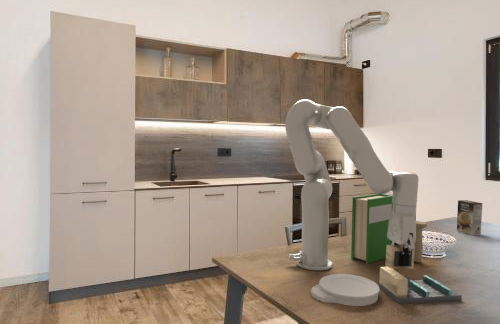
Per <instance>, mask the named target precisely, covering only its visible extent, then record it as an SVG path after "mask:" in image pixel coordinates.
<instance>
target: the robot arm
mask: <svg viewBox="0 0 500 324" xmlns="http://www.w3.org/2000/svg"><path fill="white" fill-rule="evenodd" d="M284 126H285V127H284V128H285V133H286V137H287V140H288V144H289V148H290V152H291V156H292V159H293V163H294V167H295V169H296V171H297V172H298V173H299V174H300V175H302V176H303V177H304V178H303V179H304V181H305V183H304V184H303V186H302V188H301V192H300V198H301V199H300V200H301V250H299V251H298V252H297V253H288V256H287V257H288V260H293V261H294V262H296V264H297V265H298V267H300V268H302V269H305V270H309V271H318V272H319V271H327V270H330V269H331V268H332V267H333V262H332V261H331V260H330V259H329V232H330V231H329V228H330V227H329V225H330V224H329V223H330V222H329V220H330V219H329V218H330V209H329V205H330V204H329V198H330V197H331V195H332V193H333V184H332V180H331V178H330V174H329V170H328V168H327V164H326V161H325V159H324V157H323V155H322V153H320V152H319V151H318V150H316V147H315V144H314V140H313V137H312V134H311V132H310V127H311V126H312V127H315V128H316V127H318V128H322V129H326V130H330V131H331V132H332V134H333V136H335V137H336V139H337V141H338V142H339V143H340V145H341V147H342V148H343V150H344V151H345V153H346V154H347V156H348V158H349V160H351V162H352V164H353V165H354V166H355V168H356V169H357V171H358V173H359V174H360V176H361V177H362V179H363V180H364V182H365V183H366V184H367V186H368V187H369V189H370V190H371V191H372V192H373V193H374V194H386V195H387V194H388V193H389V192H392V194H391V195H392V209H391V213H390V217H389V222H388V229H387V238H388V239H389V240H390V241H391V244H392V245H400V246H401V254H399V266H408V265H409V255H410V254H411V252H412V251H413V250H415V246H414V244H415V240H416V221H417V220H416V216H417V206H418V205H417V202H418V190H419V189H418V188H419V175H418V174H417V173H415V172H406V171H398V172H396V171H391V170H387V168H386V167H385V166H384V164H383V163H382V161H381V159H380V158H379V157H378V155H377V153H376V151H375V150H374V149H373V146H372V143H371V142H370V140H369V138H368V137H367V136H366V133H364V131H363V130H362V128H361V127H360V125H359V124H358V123H357V121H356V120H355V118H354V117H353V116H352V113H351V112H350V111H349V110H348V109H347V108H346V107H344V106H341V105H340V106H334V107H333V106H328V105H325V104H324V105H323V104H319V103H315V102H314V101H312V100H310V99H300V100H298V101H297V102H296V103H294V104H293V105H292V106H291V107H290V108H289V110H288V112H287V113H286V116H285V122H284ZM404 247H407V248H405V249H404Z"/></svg>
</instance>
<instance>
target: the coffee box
mask: <svg viewBox="0 0 500 324" xmlns="http://www.w3.org/2000/svg"><path fill="white" fill-rule="evenodd" d="M456 216H457V217H456V232H459V233H463V234H466V235H470V236H478V235H479V236H480V234H482V220H483V219H482V216H483V203H482V202H478V201H472V200H462V199H460V200H457V215H456Z"/></svg>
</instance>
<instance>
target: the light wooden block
mask: <svg viewBox="0 0 500 324" xmlns="http://www.w3.org/2000/svg"><path fill="white" fill-rule="evenodd" d="M405 248H407V247H404V249H405ZM414 251H415V250H413V251H412V252H411V254H410V255H409V265H408V266H399V254H401V246H400V245H387V247H386V258H385V263H384V264H385V265H384V266H385V267H390V268H392V269H394V270H403V269H404V270H413V269H414V264H415V262H414Z"/></svg>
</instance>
